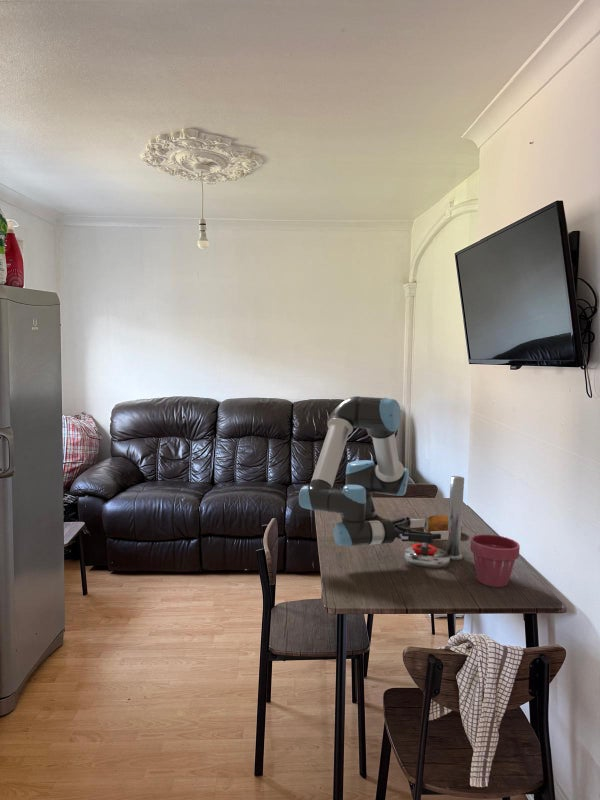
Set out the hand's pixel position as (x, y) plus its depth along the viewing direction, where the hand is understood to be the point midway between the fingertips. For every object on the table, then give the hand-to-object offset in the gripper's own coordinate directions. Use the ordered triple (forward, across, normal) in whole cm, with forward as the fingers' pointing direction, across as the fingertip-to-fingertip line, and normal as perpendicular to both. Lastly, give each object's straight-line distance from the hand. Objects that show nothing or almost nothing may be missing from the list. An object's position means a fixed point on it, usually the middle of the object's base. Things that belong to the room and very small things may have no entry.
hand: (437, 528), depth 192 cm
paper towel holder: (0, 0, -10) cm, 11 cm away
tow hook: (-3, -3, -9) cm, 10 cm away
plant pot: (+8, +21, -11) cm, 25 cm away
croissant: (+17, -26, -11) cm, 33 cm away
